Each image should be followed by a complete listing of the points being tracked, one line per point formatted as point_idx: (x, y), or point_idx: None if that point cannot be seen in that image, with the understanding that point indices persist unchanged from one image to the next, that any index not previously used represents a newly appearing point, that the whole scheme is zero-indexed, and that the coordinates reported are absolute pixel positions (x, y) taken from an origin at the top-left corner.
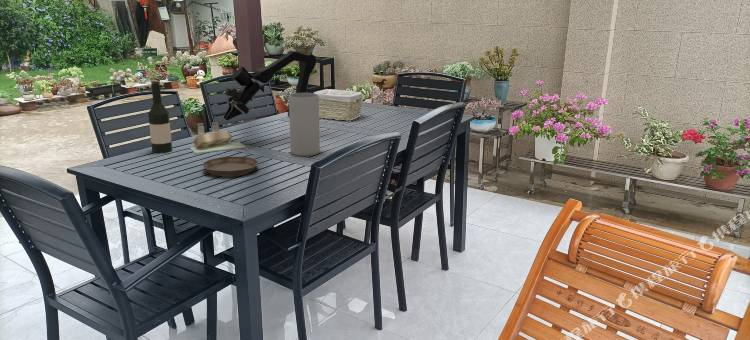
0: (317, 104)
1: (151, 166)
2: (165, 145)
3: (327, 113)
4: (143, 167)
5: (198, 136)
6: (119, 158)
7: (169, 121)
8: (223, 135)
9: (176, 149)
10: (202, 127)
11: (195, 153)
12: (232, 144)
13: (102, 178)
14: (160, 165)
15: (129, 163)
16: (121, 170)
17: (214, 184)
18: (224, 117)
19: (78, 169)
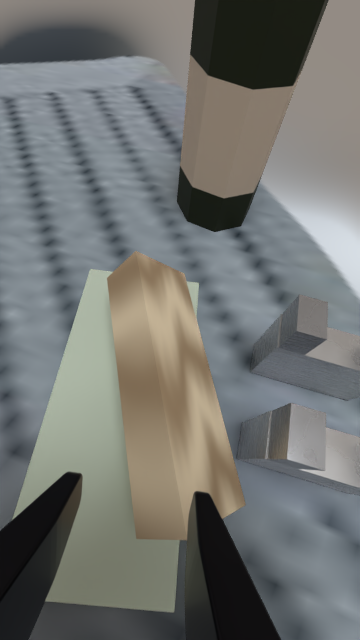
0: None
1: (41, 138)
2: (181, 178)
3: None
4: (48, 125)
5: (132, 259)
6: None
7: (250, 86)
8: (144, 449)
9: (212, 243)
10: (294, 322)
11: (91, 272)
12: (127, 515)
13: (28, 64)
14: (30, 153)
15: (119, 117)
16: (63, 94)
17: None
18: (191, 508)
19: (141, 60)
